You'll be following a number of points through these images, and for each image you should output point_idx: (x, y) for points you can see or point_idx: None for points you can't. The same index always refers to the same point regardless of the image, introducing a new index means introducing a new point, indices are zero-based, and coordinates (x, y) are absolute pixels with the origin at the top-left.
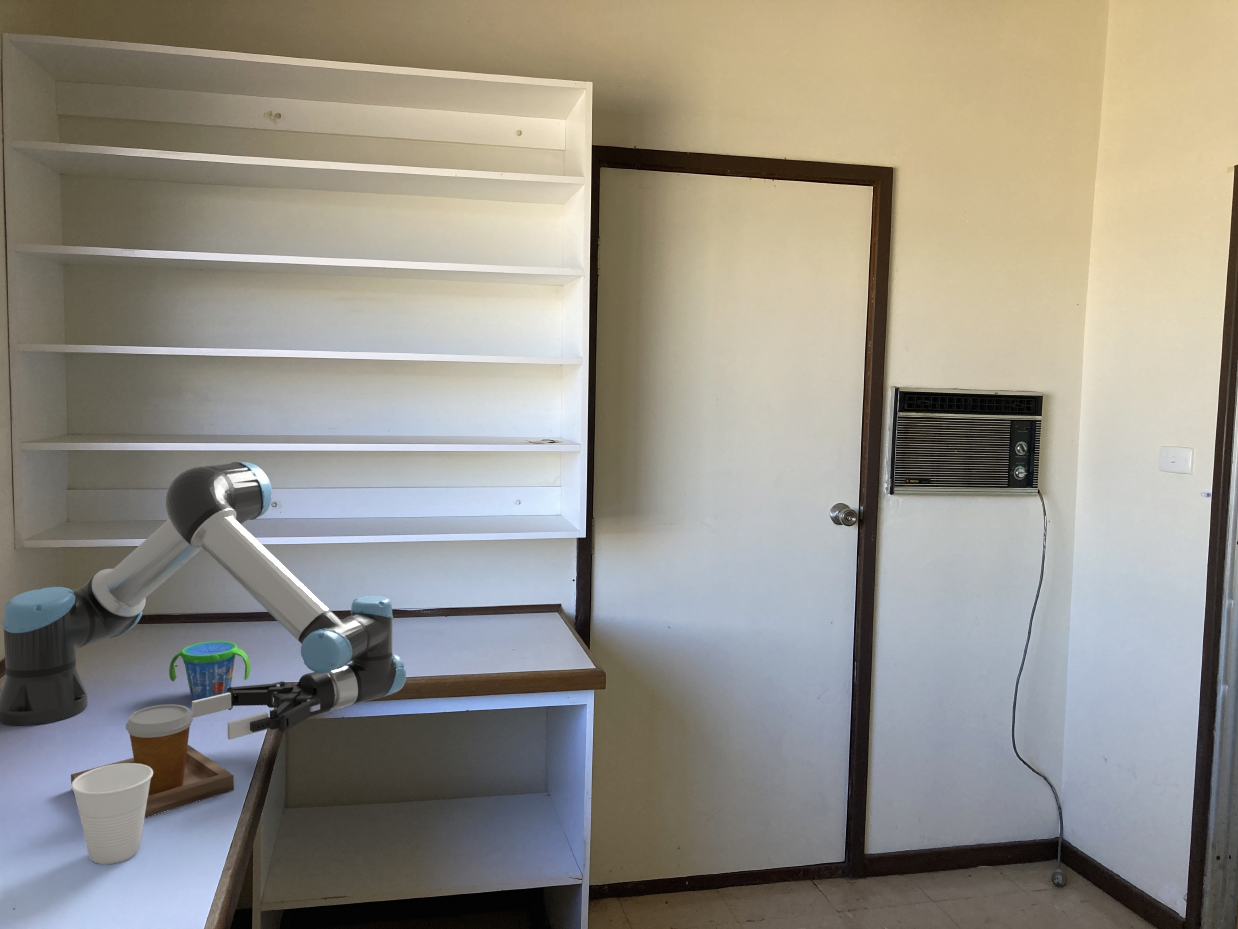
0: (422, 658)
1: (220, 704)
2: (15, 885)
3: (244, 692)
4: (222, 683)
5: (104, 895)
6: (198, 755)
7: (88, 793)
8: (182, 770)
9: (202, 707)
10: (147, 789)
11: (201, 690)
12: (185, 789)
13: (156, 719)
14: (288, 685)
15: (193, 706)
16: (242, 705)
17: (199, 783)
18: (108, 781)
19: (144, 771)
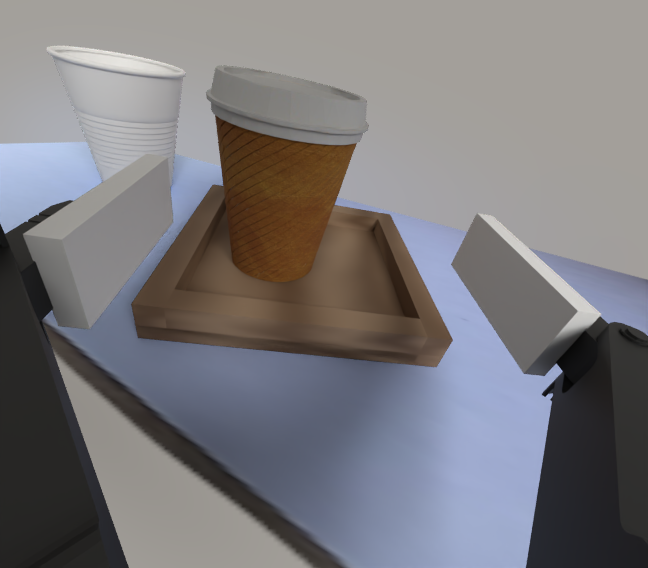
0: None
1: (513, 307)
2: (181, 157)
3: (613, 375)
4: None
5: (62, 156)
6: (345, 319)
7: (108, 51)
8: (235, 234)
9: (478, 255)
10: (65, 80)
11: None
12: (178, 235)
13: (275, 84)
14: None
15: (471, 228)
16: (549, 421)
17: (177, 254)
18: (173, 100)
19: (109, 77)
